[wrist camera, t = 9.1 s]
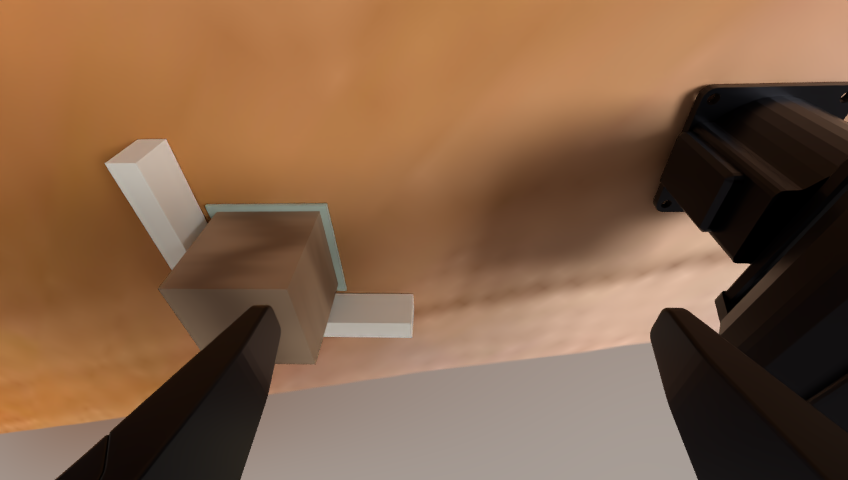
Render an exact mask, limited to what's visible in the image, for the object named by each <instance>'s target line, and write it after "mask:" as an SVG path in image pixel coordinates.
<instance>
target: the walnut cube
mask: <svg viewBox="0 0 848 480" xmlns="http://www.w3.org/2000/svg"><path fill="white" fill-rule="evenodd" d="M337 287H338V281H337V277H336V273H335V270H334V266H333V262H332V258H331V254H330V250H329V246H328V242H327V238H326V234H325V230H324V226H323V222H322V218H321V214H320V211H247V212H216V213H215V215H214V216H213V217H212V219H211V220H210V221H209V223H208V224H207V225H206V227H205V228H204V229H203V230H202V232H201V233H200V234H199V236H198V237H197V238H196V240H195V241H194V242H193V244H192V245H191V246H190V247H189V249H188V250H187V251H186V253H185V254H184V255H183V257H182V258H181V259H180V261H179V262H178V263H177V264H176V266H175V267H174V268H173V270H172V271H171V272H170V274H169V275H168V276H167V277H166V279H165V280H164V281H163V283H162V284H161V285H160V287H159V288H158V290H159V291H160V293H161V294H162V295H163V297H164V298H165V300H166V301H167V303H168V304H169V306H170V307H171V308H172V310H173V311H174V313H175V314H176V316H177V317H178V319H179V320H180V321H181V323H182V324H183V326H184V327H185V329H186V330H187V332H188V333H189V334H190V336H191V337H192V339H193V340H194V342H195V343H196V345H197V346H198V347H199V349H200V350H202V349H203V348H205V347H206V346H207V345H208V344H209V343H210V342H211V341H212V340H214V339H215V338H216V337H217V336H218V335H219V334H220V333H221V332H223V331H224V330H225V329H226V328H227V327H228V326H229V325H230V324H232V323H233V322H234V321H235V320H236V319H237V318H238V317H239V316H240V315H242V314H243V313H244V312H245V311H246V310H247V309H248V308H250V307H251V306H253V305H270V306H271V307H272V308H273V310H274V312H275V314H276V317H277V319H278V321H279V324H280V327H281V337H280V342H279V346H278V351H277V356H276V360H275V364H316V361H317V358H318V354H319V351H320V347H321V343H322V340H323V336H324V333H325V329H326V326H327V322H328V319H329V315H330V312H331V308H332V305H333V301H334V298H335V294H336V291H337Z"/></svg>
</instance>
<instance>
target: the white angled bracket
mask: <svg viewBox="0 0 848 480" xmlns="http://www.w3.org/2000/svg"><path fill="white" fill-rule="evenodd" d="M105 165H106V167H107V168H108V170H109V171H110V173H111V175H112V176H113V178H114V179H115V181H116V182H117V184H118V186H119V187H120V189H121V190H122V192H123V194H124V195H125V197H126V198H127V200H128V201H129V203H130V205H131V206H132V208H133V209H134V211H135V213H136V214H137V216H138V217H139V219H140V221H141V222H142V224H143V225H144V227H145V228H146V230H147V232H148V233H149V235H150V236H151V238H152V240H153V241H154V243H155V244H156V246H157V248H158V249H159V251H160V252H161V254H162V255H163V257H164V259H165V260H166V262H167V263H168V265H169V267H170V268H171V270H173V268H174V267H175V266H176V264H177V263H178V262H179V261H180V259H181V258H182V257H183V255H184V254H185V253H186V251H187V250H188V249H189V247H190V246H191V245H192V244H193V242H194V241H195V240H196V238H197V237H198V236H199V234H200V233H201V232H202V230H203V229H204V228H205V227H206V225H207V224H208V223H207V221H206V219H205V217H204V215H203V213H202V211H201V209H200V207H199V205H198V203H197V201H196V199H195V197H194V195H193V193H192V191H191V189H190V187H189V185H188V183H187V181H186V179H185V177H184V175H183V173H182V170H181V168H180V166H179V164H178V162H177V160H176V158H175V156H174V154H173V152H172V150H171V148H170V146H169V144H168V142H167V140H166V139H137V140H136V141H135V142H133V143H132V144H130V145H129V146H128V147H126V148H125V149H124V150H122V151H121V152H120V153H118V154H117V155H115V156H114V157H113V158H111V159H110V160H109V161H107V162H106V163H105ZM413 319H414V297H413V294H340V293H336V294H335V298H334V301H333V305H332V308H331V312H330V315H329V319H328V322H327V326H326V329H325V333H324V336H323V337H385V338H412V333H413Z"/></svg>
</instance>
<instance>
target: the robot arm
mask: <svg viewBox="0 0 848 480" xmlns="http://www.w3.org/2000/svg"><path fill="white" fill-rule="evenodd" d="M844 93H846V94H845V95H844V96H843V97H842V98H841V96H842V95H843V94H844ZM712 94H715V96H714V98H713V99H712V100H710V101H708V102H707V99H708V98H709V96H711V95H712ZM847 114H848V82H809V83H759V84H713V85H709V86H707V87H705V88H703V89H702V90H701V91H700V92H699V94H698V95H697V97H696V100H695V102H694V105H693V107H692V109H691V112H690V114H689V117H688V119H687V121H686V124H685V126H684V128H683V131H682V133H681V134H680V135H679V136H678V138H677V140H676V143H675V145H674V148H673V150H672V152H671V155H670V157H669V160H668V162H667V164H666V167H665V169H664V172H663V174H662V176H661V179H660V182H661V183H660V186H659V188H658V190H657V193H656V195H655V198H654V200H653V204H654V206H655V207H656V209H657V210H658V211H661V212H686V214H687V215H688V216H689V217H690V218H691V220H692V221H693V222H694V223H695V224H696V226H697V227H698V228H699V229H700V231H702V232H709V233H710V234H711V236H712V237H713V238H714V239H715V240H716V242H717V243H718V244H719V245H720V246H721V248H722V249H723V250H724V251H725V252H726V253H727V255H728V256H729V257H730V258H731V259H732V261H733V262H734V263H749V264H750V266H749V267H748V268H747V269H746V270H745V271H744V272H743V273H742V274H741V276H740V277H739V278H738V279H737V280H736V281H735V282H734V283H733V284H732V285H731V287H730V288H729V289H728V290H727V291H723V292H722V293H721V294H720V295H719V296H718V297H717V298H716V299H715V304H716V308H717V312H718V316H719V320H720V331H719V334H718V333H717V332H715V331H714V330H713V329H711V328H710V327H709V326H708V325H706V324H705V323H704V322H702V321H701V320H700V319H698V318H697V317H696V316H694V315H693V314H692V313H691V312H689V311H688V310H686V309H683V308H665V309H663V310H662V311H661V313H660V314H659V316H658V318H657V320H656V322H655V323H654V325H653V327H652V329H651V332H650V339H651V343H652V347H653V350H654V354H655V358H656V361H657V365H658V369H659V372H660V376H661V379H662V383H663V387H664V390H665V394H666V398H667V401H668V404H669V407H670V410H671V412H672V415H673V418H674V420H675V422H676V425H677V427H678V430H679V433H680V435H681V438H682V440H683V443H684V445H685V448H686V450H687V453H688V455H689V458H690V460H691V463H692V465H693V468H694V471H695V473H696V476H697V478H698V480H848V122H846V121H844V119H845V117H846V116H847ZM666 200H668V201H667V202H666V203H663V202H664V201H666ZM662 203H663V204H662ZM280 337H281V327H280V324H279V321H278V319H277V317H276V314H275V312H274V310H273V308H272V307H271V306H270V305H253V306H251V307H250V308H248V309H247V310H246V311H245V312H244V313H243V314H242V315H240V316H239V317H238V318H237V319H236V320H235V321H234V322H233V323H232V324H230V325H229V326H228V327H227V328H226V329H225V330H224V331H223V332H221V333H220V334H219V335H218V336H217V337H216V338H215V339H214V340H212V341H211V342H210V343H209V344H208V345H207V346H206V347H205V348H203V349H202V350H201V351H200V352H199V353H198V354H197V355H196V356H194V357H193V358H192V359H191V360H190V361H189V362H188V363H187V364H185V365H184V366H183V367H182V368H181V369H180V370H179V371H178V372H177V373H175V374H174V375H173V376H172V377H171V378H170V379H169V380H168V381H166V382H165V383H164V384H163V385H162V386H161V387H160V388H159V389H157V390H156V391H155V392H154V393H153V394H152V395H151V396H150V397H148V398H147V399H146V400H145V401H144V402H143V403H142V404H141V405H139V406H138V407H137V408H136V409H135V410H134V411H133V412H132V413H131V414H129V415H128V416H127V417H126V418H125V419H124V420H123V421H122V422H120V424H118V425H117V426H116V427H115V428H114V429H113V430H112V431H111V432H110V434H109V435H106V436H105V437H104V438H102V439H101V440H100V441H99V442H98V443H97V444H96V445H94V446H93V447H92V448H91V449H90V450H89V451H88V452H87V453H85V454H84V455H83V456H82V457H81V458H80V459H79V460H77V461H76V462H75V463H74V464H73V465H72V466H71V467H69V468H68V469H67V470H66V471H65V472H63V473H62V474H61V475H60V476H59V477H58V478H56V479H55V480H240V479H241V476H242V473H243V470H244V467H245V463H246V461H247V458H248V455H249V452H250V449H251V446H252V443H253V440H254V437H255V433H256V431H257V427H258V425H259V422H260V419H261V415H262V412H263V409H264V406H265V403H266V399H267V397H268V392H269V388H270V384H271V379H272V374H273V370H274V365H275V360H276V356H277V351H278V346H279V342H280Z"/></svg>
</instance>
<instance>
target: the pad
mask: <svg viewBox="0 0 848 480" xmlns="http://www.w3.org/2000/svg"><path fill="white" fill-rule="evenodd" d="M205 207H206V209H207V211H208V214H209V216H210V218H211V219H212V217H213V216H214V215H215V213H216V212H247V211H320V214H321V218H322V222H323V226H324V230H325V234H326V238H327V242H328V246H329V250H330V254H331V258H332V262H333V266H334V270H335V273H336V277H337V281H338V287H337V291H346V290H347V287H346V282H345V278H344V274H343V270H342V265H341V261H340V257H339V252H338V248H337V244H336V240H335V235H334V231H333V227H332V223H331V218H330V214H329V210H328V205H327V203H317V204H206V205H205Z"/></svg>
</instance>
